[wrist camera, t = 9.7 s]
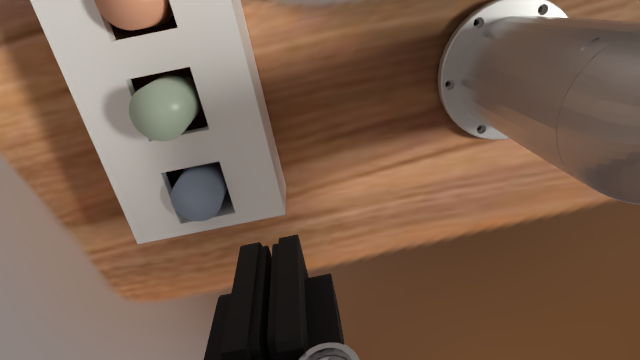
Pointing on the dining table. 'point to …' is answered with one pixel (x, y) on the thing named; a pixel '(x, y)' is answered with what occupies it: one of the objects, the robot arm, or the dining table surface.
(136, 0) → the terracotta button
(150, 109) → the sage button
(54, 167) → the dining table surface
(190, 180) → the slate button
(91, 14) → the console
